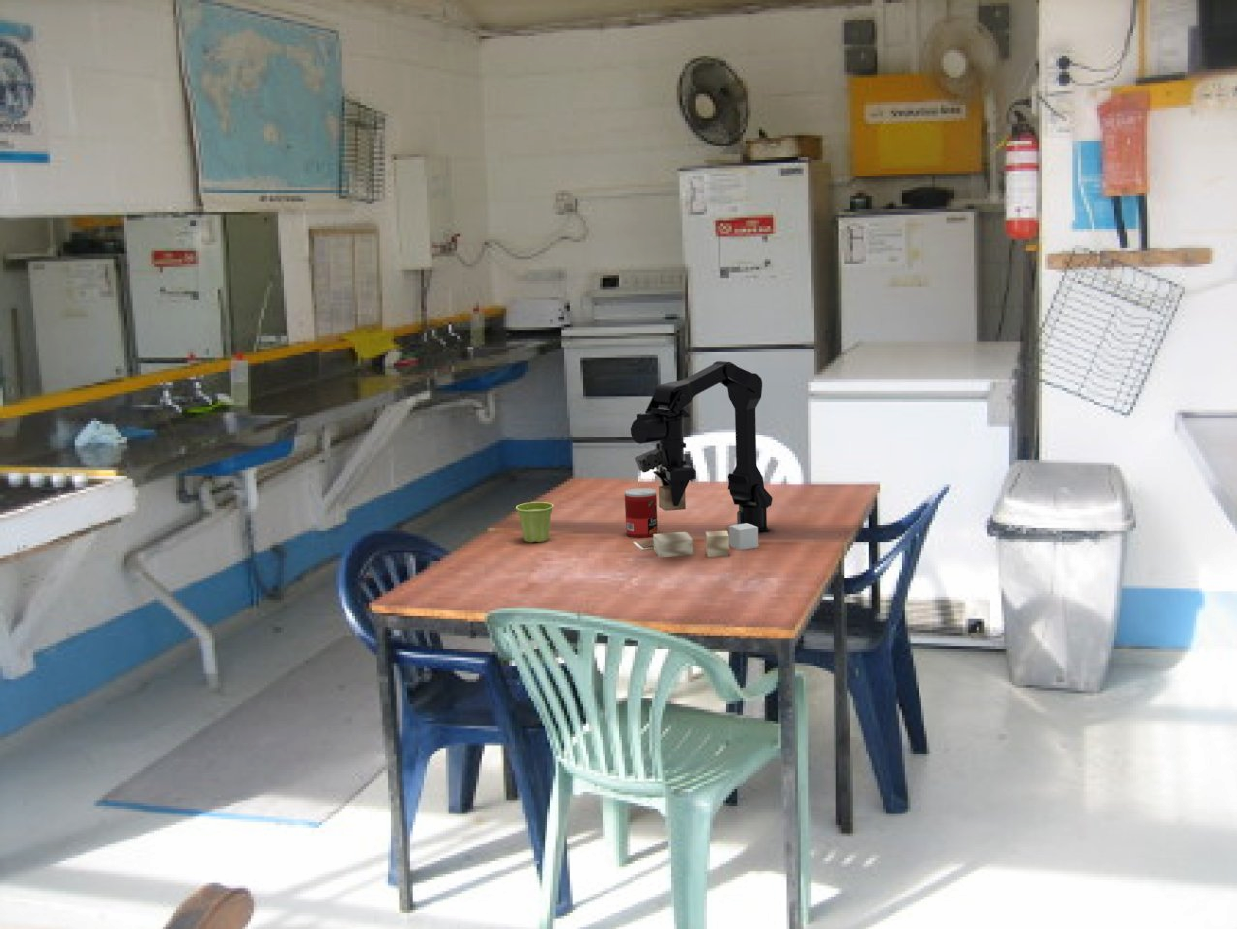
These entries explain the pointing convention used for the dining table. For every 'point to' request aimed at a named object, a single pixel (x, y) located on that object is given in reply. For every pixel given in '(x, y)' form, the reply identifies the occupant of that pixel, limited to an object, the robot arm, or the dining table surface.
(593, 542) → the dining table surface
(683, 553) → the cream square block
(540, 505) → the plant pot
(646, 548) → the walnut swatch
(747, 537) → the grey block
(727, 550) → the maple block
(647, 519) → the canned food
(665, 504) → the walnut block
